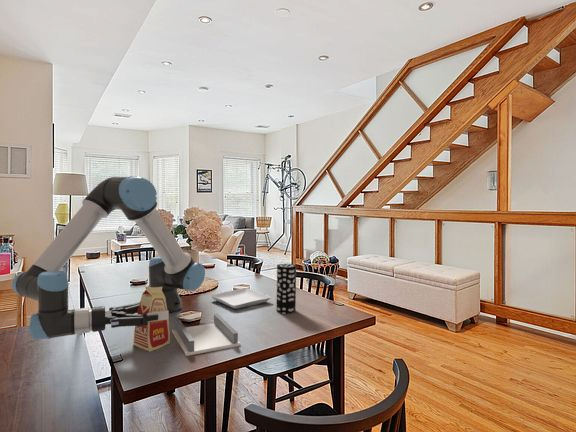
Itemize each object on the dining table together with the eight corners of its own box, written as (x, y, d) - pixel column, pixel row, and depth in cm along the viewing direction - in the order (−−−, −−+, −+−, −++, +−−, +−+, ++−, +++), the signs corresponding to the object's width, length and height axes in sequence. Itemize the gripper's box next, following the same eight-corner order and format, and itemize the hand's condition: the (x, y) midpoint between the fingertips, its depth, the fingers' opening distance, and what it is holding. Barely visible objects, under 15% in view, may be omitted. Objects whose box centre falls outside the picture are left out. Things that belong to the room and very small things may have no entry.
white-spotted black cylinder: (293, 314, 156) (294, 267, 155) (274, 313, 158) (275, 266, 156) (297, 308, 164) (297, 264, 163) (278, 307, 166) (279, 263, 165)
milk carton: (149, 351, 117) (149, 289, 116) (131, 345, 122) (131, 285, 121) (172, 342, 125) (172, 284, 124) (154, 336, 130) (154, 280, 129)
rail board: (172, 332, 134) (172, 320, 134) (220, 324, 143) (220, 313, 142) (186, 356, 115) (186, 341, 115) (240, 345, 123) (240, 332, 123)
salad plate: (233, 312, 158) (233, 304, 158) (209, 301, 174) (209, 294, 174) (272, 303, 172) (272, 296, 172) (246, 294, 188) (246, 287, 188)
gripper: (91, 320, 124) (159, 311, 135) (91, 345, 104) (172, 332, 115) (90, 298, 124) (159, 291, 134) (90, 319, 104) (171, 308, 114)
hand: (165, 310), depth 125 cm, fingers closed on milk carton, 10 cm apart
